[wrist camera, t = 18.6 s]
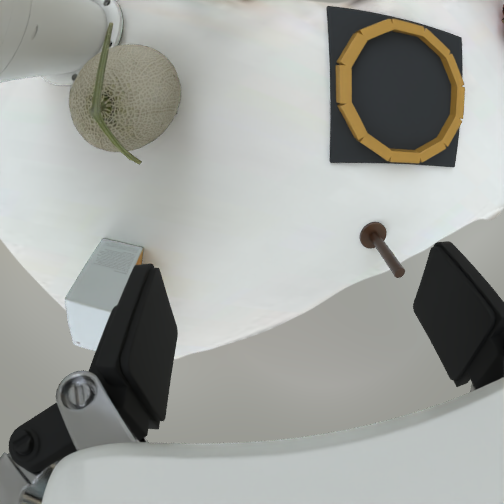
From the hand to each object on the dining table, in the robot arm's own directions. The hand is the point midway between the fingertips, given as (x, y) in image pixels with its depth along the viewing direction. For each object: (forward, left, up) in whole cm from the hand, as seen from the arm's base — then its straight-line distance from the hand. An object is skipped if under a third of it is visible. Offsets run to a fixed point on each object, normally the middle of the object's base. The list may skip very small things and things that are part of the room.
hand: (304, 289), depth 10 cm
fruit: (-6, -12, -26) cm, 30 cm away
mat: (-6, +18, -26) cm, 32 cm away
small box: (+16, -20, -26) cm, 37 cm away
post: (+14, +16, -26) cm, 34 cm away
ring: (-6, +18, -26) cm, 32 cm away
